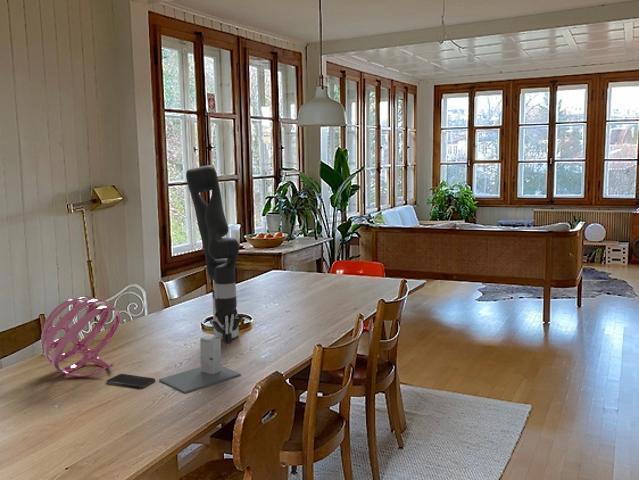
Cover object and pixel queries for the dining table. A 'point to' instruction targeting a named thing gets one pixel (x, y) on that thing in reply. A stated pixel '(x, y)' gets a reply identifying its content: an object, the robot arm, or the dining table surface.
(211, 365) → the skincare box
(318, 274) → the dining table surface
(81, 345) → the spiral basket
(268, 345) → the dining table surface
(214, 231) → the robot arm
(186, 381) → the rubber mat
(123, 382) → the phone
